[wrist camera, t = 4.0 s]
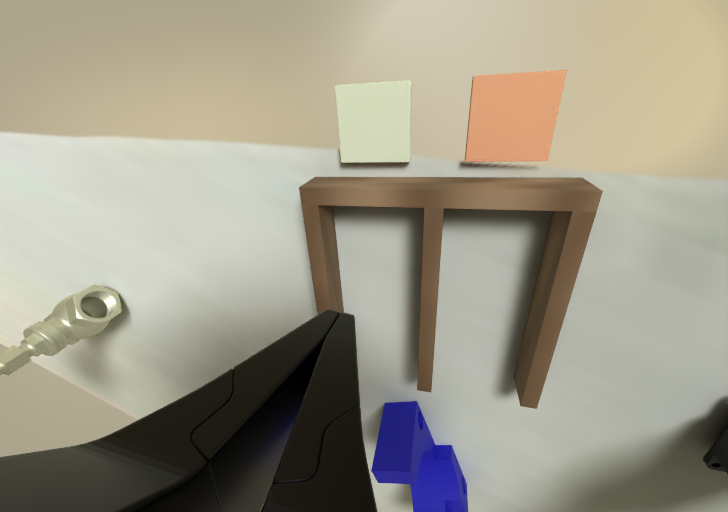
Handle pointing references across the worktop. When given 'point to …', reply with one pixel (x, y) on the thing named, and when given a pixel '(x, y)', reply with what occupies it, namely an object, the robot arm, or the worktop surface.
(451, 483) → the cable clip
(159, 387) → the worktop surface
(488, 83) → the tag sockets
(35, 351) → the valve
